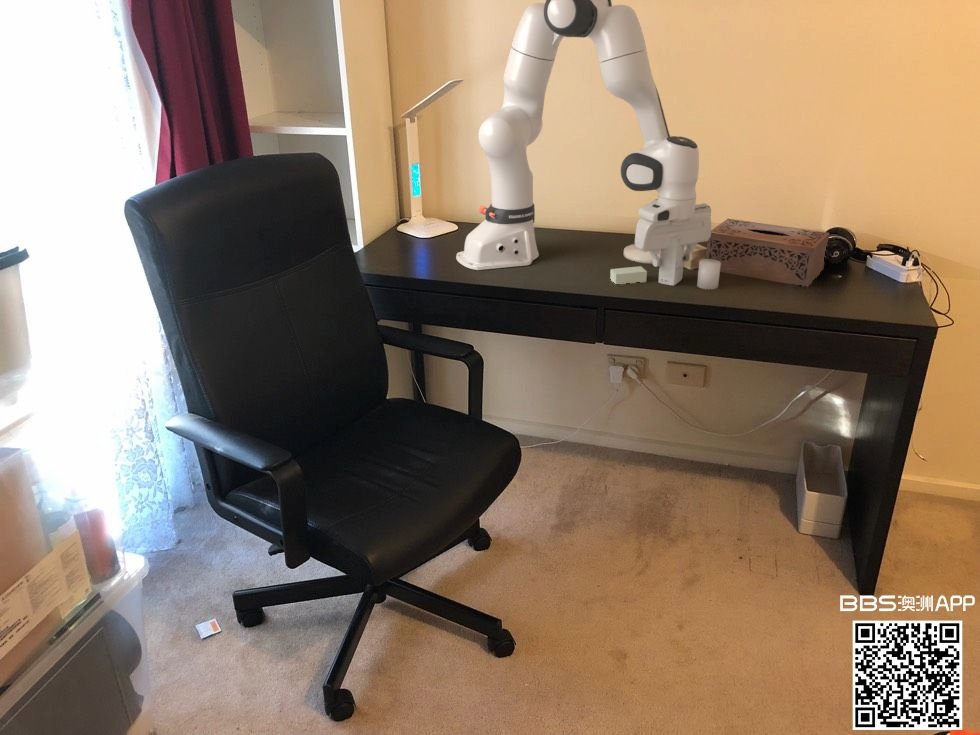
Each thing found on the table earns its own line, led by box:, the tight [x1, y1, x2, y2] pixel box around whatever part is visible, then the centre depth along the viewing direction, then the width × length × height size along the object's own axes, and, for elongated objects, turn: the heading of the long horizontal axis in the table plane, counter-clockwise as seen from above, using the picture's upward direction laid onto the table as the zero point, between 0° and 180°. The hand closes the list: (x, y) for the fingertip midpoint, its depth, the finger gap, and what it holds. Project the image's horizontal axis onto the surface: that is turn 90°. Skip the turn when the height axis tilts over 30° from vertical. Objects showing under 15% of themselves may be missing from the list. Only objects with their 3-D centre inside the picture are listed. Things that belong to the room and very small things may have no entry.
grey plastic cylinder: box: [696, 259, 721, 291], centre depth 194 cm, size 5×5×6 cm
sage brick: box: [609, 265, 648, 285], centre depth 199 cm, size 8×4×3 cm, turn 102°
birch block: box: [683, 243, 707, 270], centre depth 208 cm, size 5×5×5 cm
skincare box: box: [658, 236, 685, 287], centre depth 196 cm, size 6×4×12 cm
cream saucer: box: [623, 243, 661, 265], centre depth 217 cm, size 14×14×1 cm
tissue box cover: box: [706, 218, 830, 288], centre depth 203 cm, size 26×14×10 cm, turn 56°
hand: (671, 263), depth 197 cm, fingers closed on skincare box, 7 cm apart
